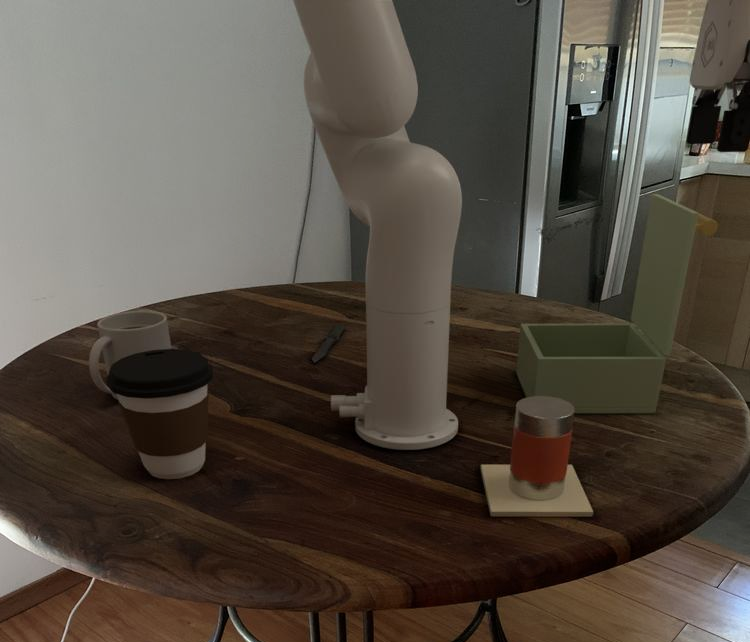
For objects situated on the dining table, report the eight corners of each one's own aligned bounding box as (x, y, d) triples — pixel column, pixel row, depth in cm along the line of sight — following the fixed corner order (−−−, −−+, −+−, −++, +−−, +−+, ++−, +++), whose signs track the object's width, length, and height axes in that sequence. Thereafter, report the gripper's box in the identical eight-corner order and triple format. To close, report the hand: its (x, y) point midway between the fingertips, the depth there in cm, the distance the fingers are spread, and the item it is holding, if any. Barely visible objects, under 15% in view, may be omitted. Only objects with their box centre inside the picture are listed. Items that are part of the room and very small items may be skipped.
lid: (691, 212, 81) (737, 212, 81) (651, 193, 94) (691, 193, 94) (663, 355, 90) (705, 355, 90) (630, 320, 102) (666, 320, 102)
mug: (173, 375, 107) (162, 307, 102) (182, 399, 99) (171, 326, 94) (95, 386, 104) (80, 316, 99) (98, 411, 96) (82, 336, 91)
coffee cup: (120, 454, 85) (100, 354, 79) (214, 438, 88) (202, 342, 82) (130, 498, 76) (108, 390, 70) (234, 478, 80) (222, 373, 74)
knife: (332, 322, 125) (349, 321, 125) (332, 327, 126) (349, 325, 125) (305, 360, 111) (324, 359, 110) (306, 365, 111) (325, 364, 110)
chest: (532, 413, 94) (538, 358, 90) (516, 373, 107) (520, 323, 103) (655, 413, 94) (666, 358, 90) (624, 372, 106) (632, 323, 102)
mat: (490, 516, 72) (491, 511, 72) (480, 469, 81) (480, 464, 81) (592, 516, 72) (593, 511, 72) (571, 469, 81) (572, 464, 80)
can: (512, 500, 74) (520, 418, 69) (504, 474, 79) (511, 395, 74) (569, 501, 74) (581, 418, 69) (558, 474, 79) (568, 395, 74)
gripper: (685, -26, 83) (658, 141, 92) (748, -46, 68) (709, 155, 77) (752, -28, 83) (719, 140, 92) (830, -48, 68) (782, 154, 77)
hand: (715, 147), depth 85 cm, fingers open, 9 cm apart
